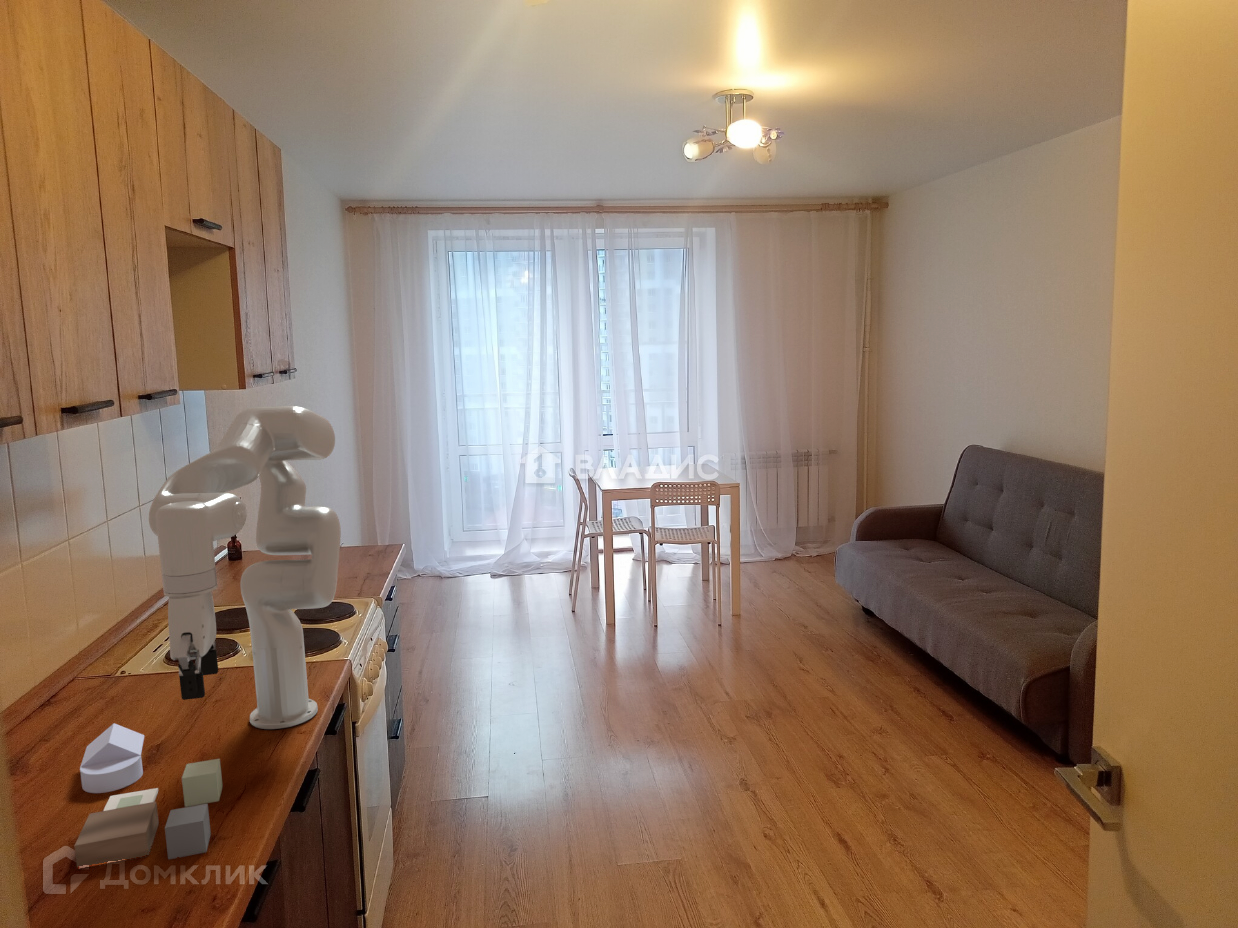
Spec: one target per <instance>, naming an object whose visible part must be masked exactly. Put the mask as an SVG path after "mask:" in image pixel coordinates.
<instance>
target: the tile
mask: <svg viewBox="0 0 1238 928" xmlns="http://www.w3.org/2000/svg"><path fill="white" fill-rule="evenodd" d="M158 793H159V787H156V788H149V789H144V790H143V789H142V790H138V791H133V792H132V791H131V792H126V793H120V794H114V795H110V796H109V797H108V798H109V799H108V800H107V802H106V803H105V806H104V808H103V810H102V811H107V810H112V809H118V808H123V807H129V806H134V805H140V804H145V803H151V802H156V799H157V796H158Z"/></svg>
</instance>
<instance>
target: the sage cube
mask: <svg viewBox="0 0 1238 928" xmlns="http://www.w3.org/2000/svg"><path fill="white" fill-rule="evenodd" d="M221 767H222V766H221V758H215V759H209V760H203V761H197V762H191V763H187V764H186V765H185V768H184V771H183V773H182V776H181V783H182V792H183V801H184V808H185V807H191V806H197V805H202V804H210V803H215V802H216V803H217V802H220V798H221V794H222V790H223V779H222V778H223V777H222V768H221Z"/></svg>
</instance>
